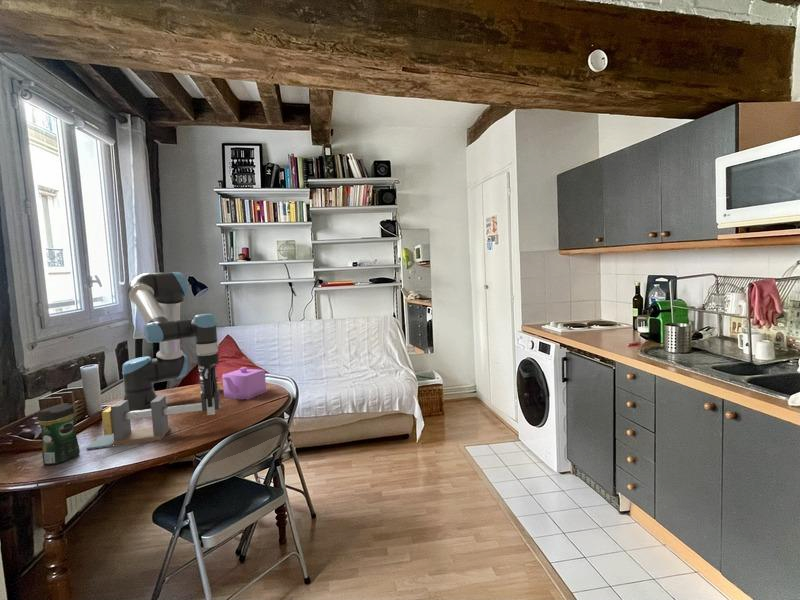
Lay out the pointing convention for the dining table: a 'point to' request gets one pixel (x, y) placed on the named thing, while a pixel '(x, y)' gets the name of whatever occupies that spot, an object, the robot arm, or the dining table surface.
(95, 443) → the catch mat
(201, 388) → the decorative candle
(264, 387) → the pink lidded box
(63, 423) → the coffee jar
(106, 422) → the spacer
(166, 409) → the shaft
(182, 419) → the dining table surface
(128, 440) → the bracket
